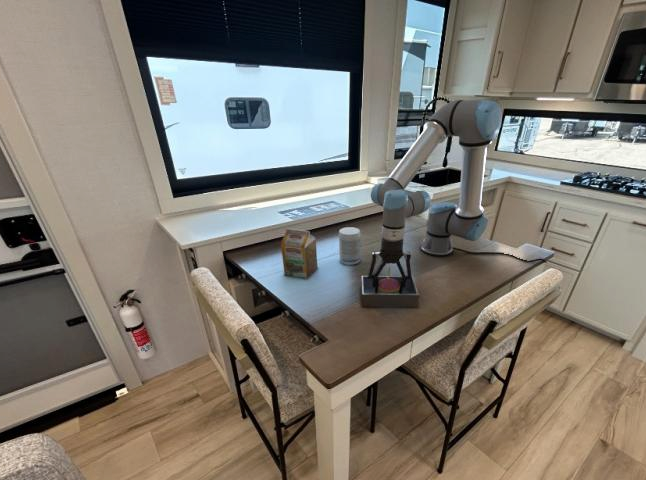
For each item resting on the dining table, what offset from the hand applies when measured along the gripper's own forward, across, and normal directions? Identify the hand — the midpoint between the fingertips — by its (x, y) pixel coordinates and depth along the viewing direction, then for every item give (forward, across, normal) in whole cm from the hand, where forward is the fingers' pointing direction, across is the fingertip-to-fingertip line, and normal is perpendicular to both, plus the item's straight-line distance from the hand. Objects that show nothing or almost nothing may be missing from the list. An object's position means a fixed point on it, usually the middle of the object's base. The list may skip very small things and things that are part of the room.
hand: (388, 293), depth 122 cm
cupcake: (+1, 0, 0) cm, 1 cm away
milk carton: (+2, -36, +20) cm, 41 cm away
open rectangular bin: (+1, 0, 0) cm, 1 cm away
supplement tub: (+2, -15, +31) cm, 34 cm away
